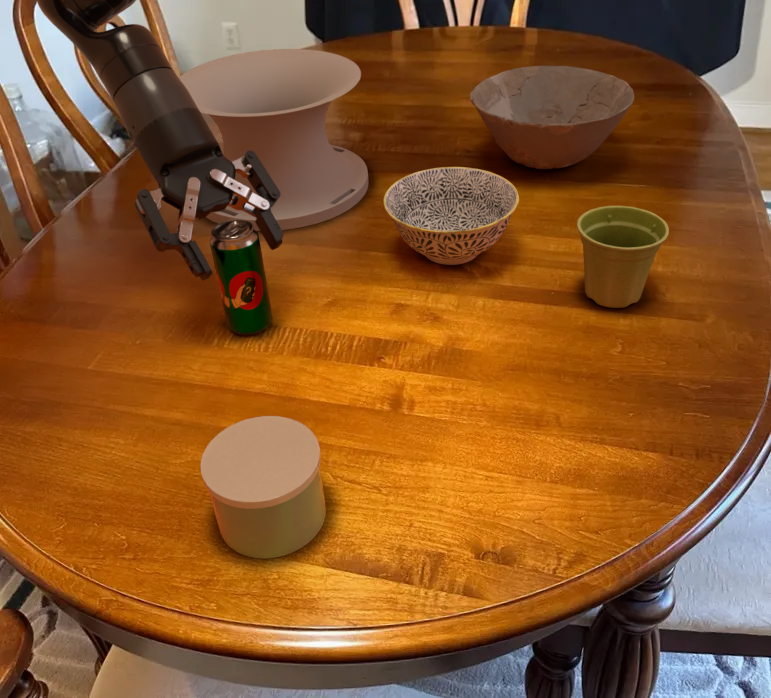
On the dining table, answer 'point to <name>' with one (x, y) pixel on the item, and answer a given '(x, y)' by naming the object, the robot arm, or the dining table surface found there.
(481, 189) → the bowl
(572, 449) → the dining table surface
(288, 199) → the vase
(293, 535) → the canister
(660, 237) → the plant pot
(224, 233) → the soda can
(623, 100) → the ceramic bowl
